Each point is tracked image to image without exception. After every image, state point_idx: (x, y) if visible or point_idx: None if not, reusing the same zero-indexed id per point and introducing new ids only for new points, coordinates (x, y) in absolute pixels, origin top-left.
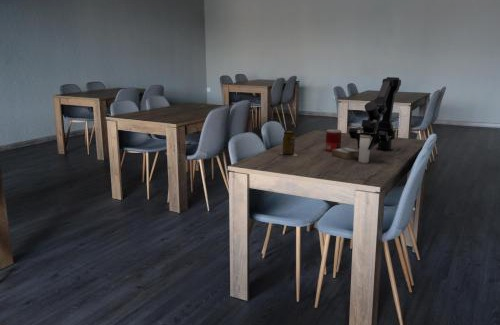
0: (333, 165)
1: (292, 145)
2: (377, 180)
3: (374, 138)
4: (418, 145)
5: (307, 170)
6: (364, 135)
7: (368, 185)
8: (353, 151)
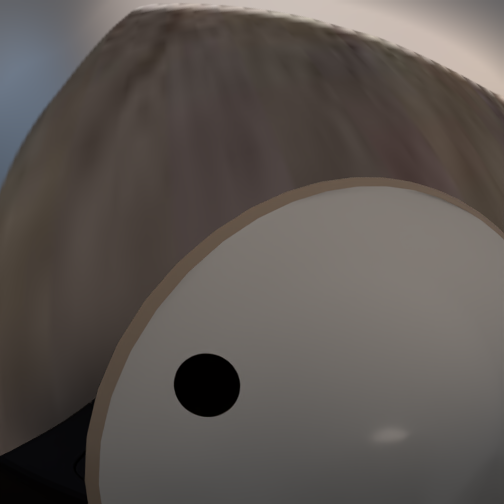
0: (399, 178)
1: None
2: (128, 39)
3: (4, 480)
4: None
5: (419, 89)
6: (477, 430)
7: (164, 8)
8: None
